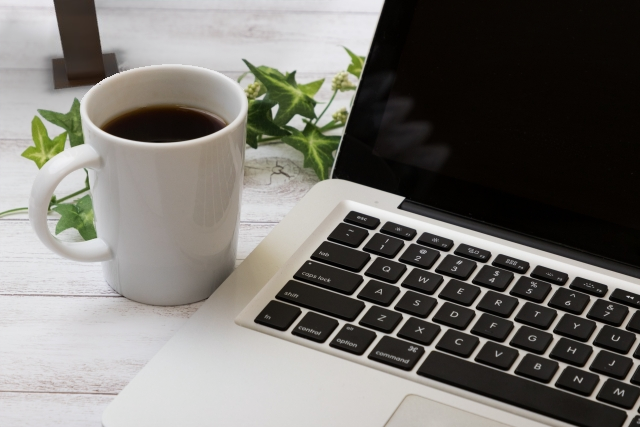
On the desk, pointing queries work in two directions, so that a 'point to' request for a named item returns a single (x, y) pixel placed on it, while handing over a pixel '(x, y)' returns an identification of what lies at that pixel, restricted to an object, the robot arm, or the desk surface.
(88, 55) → the brown post on base
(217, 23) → the desk surface
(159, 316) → the desk surface
